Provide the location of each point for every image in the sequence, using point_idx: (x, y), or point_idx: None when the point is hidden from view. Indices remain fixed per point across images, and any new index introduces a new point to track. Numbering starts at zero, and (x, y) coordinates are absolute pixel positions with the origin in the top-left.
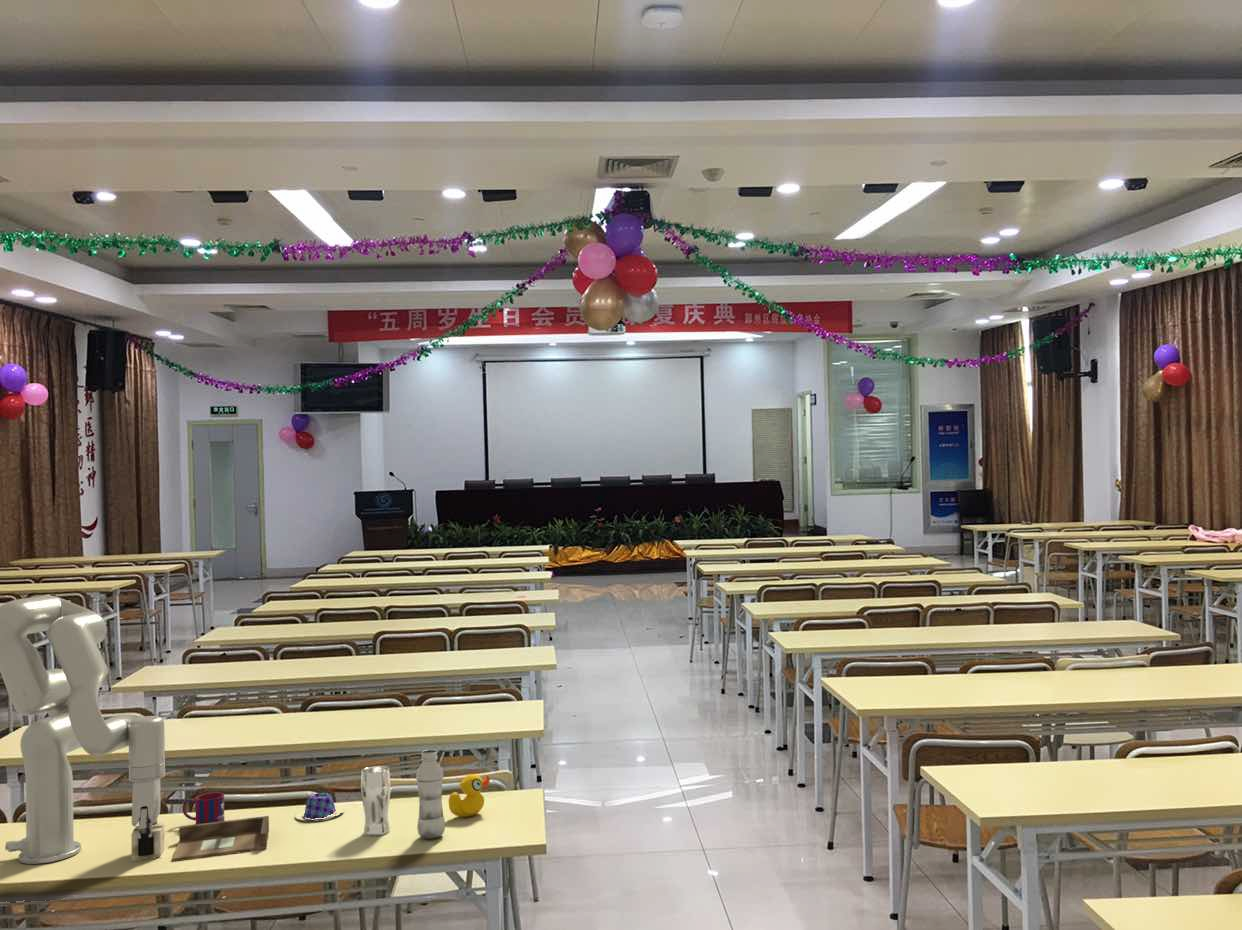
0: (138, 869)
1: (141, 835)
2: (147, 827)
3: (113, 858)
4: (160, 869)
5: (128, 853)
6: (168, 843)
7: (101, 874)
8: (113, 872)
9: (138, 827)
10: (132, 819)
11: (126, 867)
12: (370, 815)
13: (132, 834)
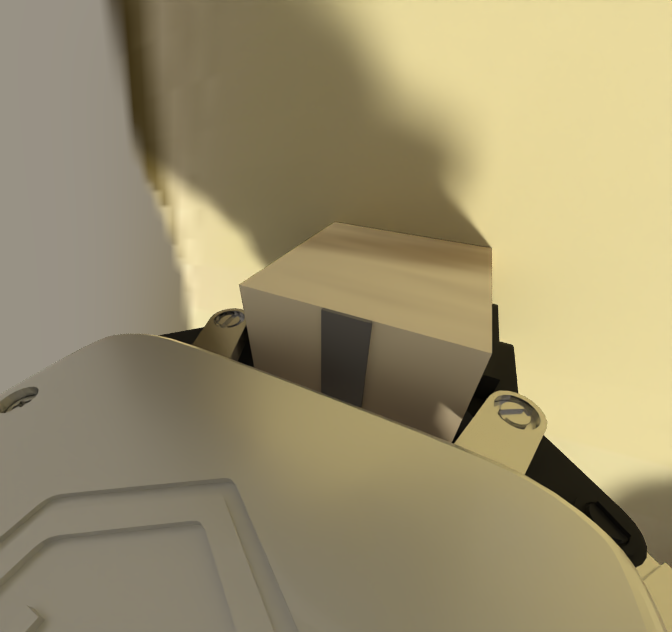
0: (221, 247)
1: (188, 335)
2: (358, 405)
3: (452, 87)
4: (211, 311)
5: (507, 198)
6: (538, 404)
7: (181, 66)
8: (201, 137)
9: (416, 361)
10: (37, 374)
11: (252, 198)
12: None
13: (244, 289)
